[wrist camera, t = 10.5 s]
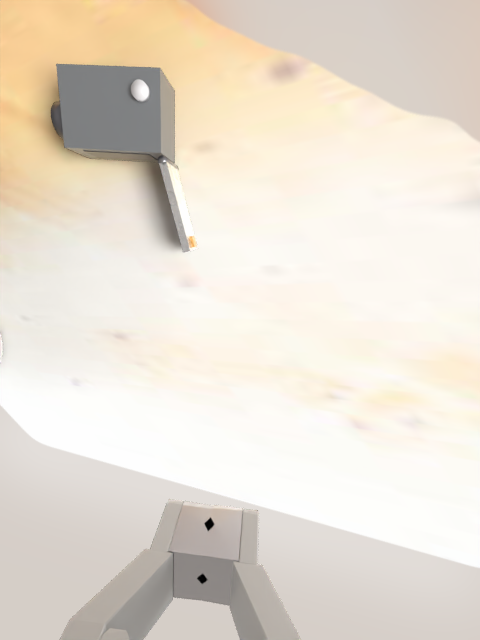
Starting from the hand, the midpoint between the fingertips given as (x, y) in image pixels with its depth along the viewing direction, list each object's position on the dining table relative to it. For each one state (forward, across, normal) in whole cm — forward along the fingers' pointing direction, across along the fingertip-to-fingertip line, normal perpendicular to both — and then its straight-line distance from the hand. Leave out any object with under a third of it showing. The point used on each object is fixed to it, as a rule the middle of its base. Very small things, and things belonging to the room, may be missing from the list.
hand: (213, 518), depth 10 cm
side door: (+29, +9, -11) cm, 32 cm away
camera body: (+29, +15, -20) cm, 38 cm away
